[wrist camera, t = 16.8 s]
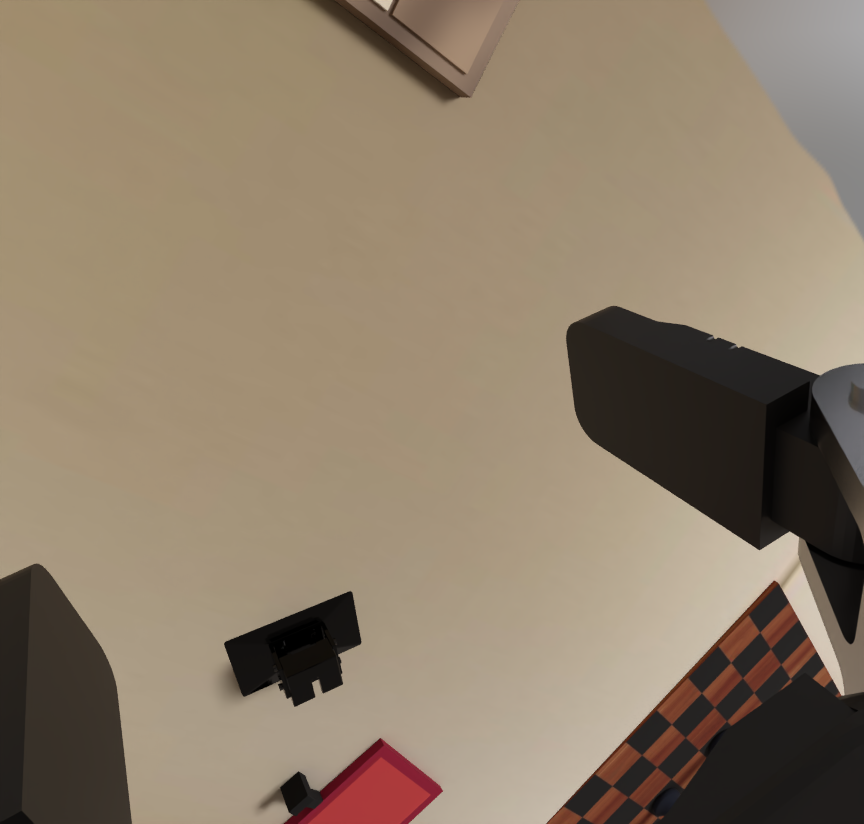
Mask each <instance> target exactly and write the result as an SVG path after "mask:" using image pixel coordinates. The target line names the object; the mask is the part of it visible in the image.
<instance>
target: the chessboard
mask: <svg viewBox="0 0 864 824" xmlns="http://www.w3.org/2000/svg"><path fill="white" fill-rule="evenodd" d="M804 673H806V674H808V675H809V676H810V677H811V678H813V679H814V680H815V681H817V682H818V683H819V684H820V685H822V686H823V687H824V688H826V689H827V690H828V691H829V692H831V693H832V694H833V695H835V696H836V697H840V696H841V694H840V692H839V691H838V689H837V687H836V685H835V683H834V682H833V680H832V678H831V676H830V674H829V673H828V671H827V669H826V667H825V666H824V664H823V662H822V660H821V658H820V657H819V655H818V653H817V651H816V649H815V648H814V646H813V644H812V642H811V640H810V639H809V637H808V635H807V633H806V632H805V630H804V628H803V626H802V624H801V623H800V621H799V619H798V617H797V615H796V614H795V612H794V610H793V608H792V606H791V605H790V603H789V601H788V599H787V598H786V596H785V594H784V592H783V590H782V589H781V587H780V585H779V584H778V583H777V582H776V581H773V582H772V583H771V585H770V586H769V587H768V588H767V589H766V590H765V591H764V592H763V593H762V594H761V595H760V596H759V597H758V598H757V599H756V601H755V602H754V603H753V604H752V605H751V606H750V607H749V608H748V609H747V610H746V611H745V612H744V613H743V614H742V615H741V617H740V618H739V619H738V620H737V621H736V622H735V623H734V624H733V625H732V626H731V627H730V628H729V629H728V630H727V631H726V633H725V634H724V635H723V636H722V637H721V638H720V639H719V640H718V641H717V642H716V643H715V644H714V645H713V646H712V647H711V649H710V650H709V651H708V652H707V653H706V654H705V655H704V656H703V657H702V658H701V659H700V660H699V661H698V662H697V663H696V665H695V666H694V667H693V668H692V669H691V670H690V671H689V672H688V673H687V674H686V675H685V676H684V677H683V678H682V679H681V681H680V682H679V683H678V684H677V685H676V686H675V687H674V688H673V689H672V690H671V691H670V692H669V693H668V694H667V695H666V697H665V698H664V699H663V700H662V701H661V702H660V703H659V704H658V705H657V706H656V707H655V708H654V709H653V710H652V711H651V713H650V714H649V715H648V716H647V717H646V718H645V719H644V720H643V721H642V722H641V723H640V724H639V725H638V726H637V727H636V729H635V730H634V731H633V732H632V733H631V734H630V735H629V736H628V737H627V738H626V739H625V740H624V741H623V742H622V743H621V745H620V746H619V747H618V748H617V749H616V750H615V751H614V752H613V753H612V754H611V755H610V756H609V757H608V758H607V759H606V761H605V762H604V763H603V764H602V765H601V766H600V767H599V768H598V769H597V770H596V771H595V772H594V773H593V774H592V775H591V777H590V778H589V779H588V780H587V781H586V782H585V783H584V784H583V785H582V786H581V787H580V788H579V789H578V790H577V791H576V793H575V794H574V795H573V796H572V797H571V798H570V799H569V800H568V801H567V802H566V803H565V804H564V805H563V806H562V807H561V809H560V810H559V811H558V812H557V813H556V814H555V815H554V816H553V817H552V818H551V819H550V820H549V821H548V822H547V823H546V824H655V823H657V822H658V821H659V820H661V819H662V818H663V817H664V816H665V815H666V814H667V813H668V811H669V810H670V809H671V807H672V806H673V804H674V803H675V802H676V800H677V799H678V797H679V796H680V795H681V793H682V792H683V790H684V789H685V788H686V786H687V785H688V783H689V782H690V781H691V779H692V778H693V776H694V775H695V774H696V772H697V771H698V769H699V768H700V766H701V765H702V764H703V762H704V761H705V759H706V758H707V757H708V755H709V754H710V752H711V751H712V750H713V748H714V747H715V745H716V744H717V743H718V741H719V740H720V738H721V737H722V736H723V734H724V733H725V731H726V730H727V729H728V728H729V727H731V726H732V725H734V724H735V723H736V722H738V721H739V720H740V719H742V718H743V717H745V716H746V715H747V714H749V713H750V712H752V711H753V710H754V709H756V708H757V707H758V706H760V705H761V704H763V703H764V702H765V701H767V700H768V699H769V698H771V697H772V696H774V695H775V694H776V693H778V692H779V691H780V690H782V689H783V688H785V687H786V686H787V685H789V684H790V683H791V682H793V681H794V680H796V679H797V678H798V677H800V676H801V675H802V674H804Z"/></svg>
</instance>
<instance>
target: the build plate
mask: <svg viewBox="0 0 864 824" xmlns="http://www.w3.org/2000/svg"><path fill="white" fill-rule="evenodd" d="M360 644H361V637H360V632H359V626H358V621H357V616H356V610H355V605H354V599H353V594H352V592H351V591H349V592H347V593H344V594H342V595H340V596H337V597H335V598H332V599H330V600H327V601H325V602H322V603H320V604H317V605H315V606H312V607H310V608H308V609H305V610H303V611H300V612H298V613H295V614H293V615H290V616H288V617H285V618H283V619H280V620H278V621H276V622H273V623H271V624H268V625H266V626H263V627H261V628H258V629H256V630H253V631H251V632H248V633H246V634H244V635H241V636H239V637H236V638H234V639H231V640H229V641H226V642H225V643H224V645H225V648H226V651H227V654H228V657H229V659H230V662H231V665H232V668H233V670H234V673H235V676H236V679H237V682H238V684H239V687H240V690H241V693H242V695H243V696H247V695H250V694H252V693H254V692H256V691H258V690H261V689H263V688H265V687H267V686H269V685H272V684H274V683H276V682H278V681H280V684H278V686H279V689H280V691H281V690H283V691H284V693H285V696H286V698H287V699H288V698H290V697H291V700H292V702H293V705H294V707H295V706H298V705H300V704H302V703H304V702H306V701H308V700H310V699H313V698H315V693H314V690H313V686H312V682H314V681H316V680H319V684H320V688H321V691H322V693H326V692H328V691H330V690H332V689H334V688H336V687H338V686H341V685H343V681H342V677H341V674H342V670H341V665H340V664H341V659H340V657H338V654H340V653H342V652H345V651H347V650H349V649H351V648H353V647H356V646H358V645H360Z"/></svg>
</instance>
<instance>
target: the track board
mask: <svg viewBox="0 0 864 824" xmlns="http://www.w3.org/2000/svg"><path fill="white" fill-rule="evenodd" d="M335 1H336V2H337V3H339V4H340V5H341V6H343V7H344V8H345V9H346V10H348V11H349V12H350V13H352V14H353V15H354V16H356V17H357V18H358V19H359V20H361V21H362V22H363V23H365V24H366V25H367V26H369V27H370V28H371V29H373V30H374V31H375V32H376V33H378V34H379V35H380V36H382V37H383V38H384V39H386V40H387V41H388V42H389V43H391V44H392V45H393V46H395V47H396V48H397V49H399V50H400V51H401V52H403V53H404V54H405V55H406V56H408V57H409V58H410V59H412V60H413V61H414V62H416V63H417V64H418V65H419V66H421V67H422V68H423V69H425V70H426V71H427V72H429V73H430V74H431V75H433V76H434V77H435V78H436V79H438V80H439V81H440V82H442V83H443V84H444V85H446V86H447V87H448V88H449V89H451V90H452V91H453V92H455V93H456V94H457V95H459V96H460V97H472V95H473V93H474V91H475V89H476V87H477V85H478V83H479V81H480V79H481V77H482V75H483V73H484V71H485V69H486V67H487V65H488V63H489V61H490V59H491V57H492V55H493V53H494V51H495V49H496V47H497V45H498V43H499V41H500V39H501V37H502V35H503V33H504V31H505V29H506V27H507V25H508V23H509V21H510V19H511V17H512V15H513V13H514V11H515V9H516V7H517V5H518V3H519V1H520V0H335Z"/></svg>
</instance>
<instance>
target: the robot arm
mask: <svg viewBox="0 0 864 824" xmlns="http://www.w3.org/2000/svg"><path fill="white" fill-rule="evenodd" d="M566 342H567V350H568V358H569V366H570V374H571V382H572V390H573V398H574V406H575V412H576V415H577V418H578V421H579V423H580V425H581V427H582V428H583V430H584V431H585V433H586V434H587V435H588V437H589V438H590V439H591V440H592V441H593V442H595V443H596V444H598V445H599V446H601V447H602V448H604V449H605V450H607V451H608V452H610V453H611V454H613V455H614V456H616V457H618V458H619V459H621V460H622V461H624V462H625V463H627V464H628V465H630V466H631V467H633V468H634V469H636V470H637V471H639V472H640V473H642V474H644V475H645V476H647V477H648V478H650V479H651V480H653V481H654V482H656V483H657V484H659V485H660V486H662V487H663V488H665V489H667V490H668V491H670V492H671V493H673V494H674V495H676V496H677V497H679V498H680V499H682V500H683V501H685V502H686V503H688V504H689V505H691V506H693V507H694V508H696V509H697V510H699V511H700V512H702V513H703V514H705V515H706V516H708V517H709V518H711V519H712V520H714V521H716V522H717V523H719V524H720V525H722V526H723V527H725V528H726V529H728V530H729V531H731V532H732V533H734V534H735V535H737V536H738V537H740V538H742V539H743V540H745V541H746V542H748V543H749V544H751V545H752V546H754V547H755V548H757V549H758V550H761V549H762V548H764V547H765V546H767V545H769V544H770V543H772V542H773V541H775V540H777V539H778V538H780V537H781V536H783V535H784V534H786V533H788V532H789V531H790V532H792V533H793V534H795V535H797V536H798V537H799V545H798V555H799V559H800V562H801V565H802V567H803V570H804V573H805V575H806V578H807V581H808V583H809V586H810V589H811V591H812V594H813V597H814V599H815V602H816V605H817V607H818V610H819V613H820V615H821V618H822V620H823V623H824V626H825V628H826V631H827V634H828V636H829V639H830V642H831V644H832V647H833V650H834V652H835V655H836V658H837V660H838V663H839V666H840V670H841V674H842V678H843V684H844V692H845V695H844V696H840V697H836V696H835V695H833V694H832V693H831V692H829V691H828V690H827V689H826V688H824V687H823V686H822V685H820V684H819V683H818V682H817V681H815V680H814V679H813V678H811V677H810V676H809V675H808V674H806V673H804V674H802V675H801V676H800V677H798V678H797V679H796V680H794V681H793V682H791V683H790V684H789V685H787V686H786V687H785V688H783V689H782V690H780V691H779V692H778V693H776V694H775V695H774V696H772V697H771V698H769V699H768V700H767V701H765V702H764V703H763V704H761V705H760V706H758V707H757V708H756V709H754V710H753V711H752V712H750V713H749V714H747V715H746V716H745V717H743V718H742V719H740V720H739V721H738V722H736V723H735V724H734V725H732V726H731V727H729V728H728V729H727V730H726V731H725V733H724V734H723V736H722V737H721V738H720V740H719V741H718V743H717V744H716V745H715V747H714V748H713V750H712V751H711V752H710V754H709V755H708V757H707V758H706V759H705V761H704V762H703V764H702V765H701V766H700V768H699V769H698V771H697V772H696V774H695V775H694V776H693V778H692V779H691V781H690V782H689V783H688V785H687V786H686V788H685V789H684V790H683V792H682V793H681V795H680V796H679V797H678V799H677V800H676V802H675V803H674V804H673V806H672V807H671V809H670V810H669V811H668V813H667V814H666V815H665V816H664V817H663V818H662V819H661V820H659V821H658V822H657V823H655V824H864V363H862V364H852V365H846V366H842V367H838V368H835V369H832V370H829V371H827V372H825V373H824V374H822V375H821V376H820V375H817V374H814V373H812V372H809V371H806V370H804V369H801V368H798V367H796V366H793V365H790V364H788V363H785V362H782V361H780V360H777V359H774V358H772V357H769V356H766V355H764V354H761V353H758V352H756V351H753V350H750V349H748V348H745V347H740V348H738V347H737V346H736V344H734V343H732V342H729V341H726V340H724V339H721V338H717V339H714V337H713V335H710V334H708V333H705V332H702V331H700V330H697V329H694V328H692V327H689V326H686V325H680V324H672V323H665V322H657V321H654V320H652V319H649V318H647V317H644V316H641V315H639V314H636V313H634V312H631V311H629V310H626V309H623V308H621V307H618V306H610V307H608V308H605V309H603V310H601V311H599V312H597V313H594V314H592V315H590V316H588V317H585V318H583V319H581V320H579V321H577V322H574V323H573V324H571V325H570V326H569V328H568V330H567V335H566ZM0 824H132V820H131V811H130V802H129V793H128V784H127V775H126V766H125V757H124V748H123V739H122V730H121V721H120V712H119V703H118V694H117V687H116V682H115V678H114V675H113V672H112V669H111V667H110V664H109V662H108V659H107V657H106V655H105V653H104V651H103V649H102V648H101V646H100V644H99V643H98V641H97V640H96V639H95V637H94V636H93V634H92V633H91V631H90V630H89V629H88V627H87V626H86V624H85V623H84V621H83V620H82V619H81V617H80V616H79V614H78V613H77V611H76V610H75V609H74V607H73V606H72V604H71V603H70V601H69V600H68V599H67V597H66V596H65V594H64V593H63V592H62V590H61V589H60V587H59V586H58V584H57V583H56V582H55V580H54V579H53V577H52V576H51V575H50V573H49V572H48V571H47V570H46V569H45V568H44V567H43V566H41V565H40V564H33V565H31V566H29V567H27V568H24V569H22V570H20V571H18V572H15V573H13V574H11V575H9V576H7V577H4V578H2V579H0Z"/></svg>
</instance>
